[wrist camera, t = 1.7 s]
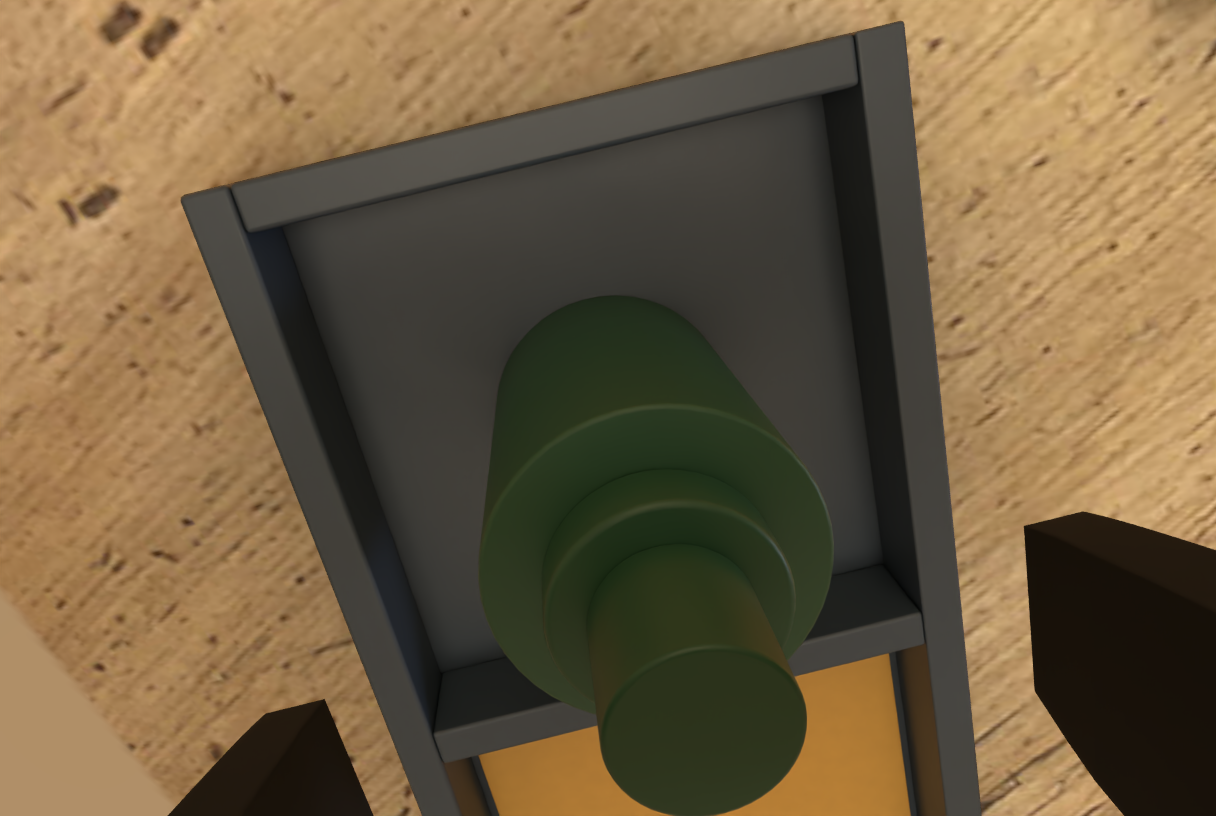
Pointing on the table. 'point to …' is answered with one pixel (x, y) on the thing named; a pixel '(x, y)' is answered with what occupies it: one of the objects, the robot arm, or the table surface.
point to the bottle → (653, 552)
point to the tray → (644, 268)
